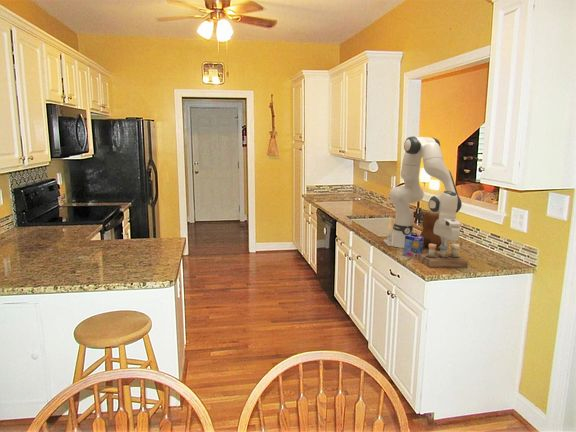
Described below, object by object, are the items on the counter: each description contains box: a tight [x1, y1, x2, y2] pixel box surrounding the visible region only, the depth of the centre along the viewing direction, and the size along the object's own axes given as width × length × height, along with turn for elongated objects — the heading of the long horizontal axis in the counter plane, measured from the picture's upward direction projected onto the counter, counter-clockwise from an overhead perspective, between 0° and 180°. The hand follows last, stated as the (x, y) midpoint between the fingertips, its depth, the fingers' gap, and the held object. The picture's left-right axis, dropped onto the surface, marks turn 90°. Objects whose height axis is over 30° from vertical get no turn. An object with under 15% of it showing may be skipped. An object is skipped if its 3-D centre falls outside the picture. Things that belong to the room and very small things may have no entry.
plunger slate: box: [439, 245, 449, 258], centre depth 240 cm, size 4×4×7 cm
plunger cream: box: [450, 243, 460, 257], centre depth 241 cm, size 4×4×7 cm
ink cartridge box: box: [403, 231, 424, 259], centre depth 255 cm, size 10×6×14 cm, turn 51°
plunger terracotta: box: [427, 243, 437, 257], centre depth 239 cm, size 4×4×7 cm
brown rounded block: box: [419, 209, 442, 249], centre depth 277 cm, size 14×13×25 cm
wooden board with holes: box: [417, 253, 469, 269], centre depth 241 cm, size 14×22×4 cm, turn 101°
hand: (444, 245), depth 239 cm, fingers closed, pressing on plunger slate
